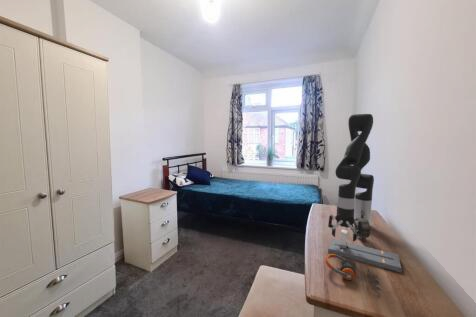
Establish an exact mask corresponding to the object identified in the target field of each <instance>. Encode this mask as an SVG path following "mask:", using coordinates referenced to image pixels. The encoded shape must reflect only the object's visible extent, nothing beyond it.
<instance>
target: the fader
mask: <svg viewBox="0 0 476 317" xmlns="http://www.w3.org/2000/svg"><path fill="white" fill-rule="evenodd" d="M347 242H348V230H347V229H341V231H340V244H339V247H342V248H347Z"/></svg>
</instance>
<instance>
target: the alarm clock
mask: <svg viewBox="0 0 476 317" xmlns="http://www.w3.org/2000/svg"><path fill="white" fill-rule="evenodd" d="M362 211H363V210H361V212H362ZM363 215H364V211H363ZM363 215H362V213H361V217H356V219H355V220H361V234H357V238H363V239H364V242H365V243H367V239H369V238H370V235H371V224H370V225H369V222H368V220H367V218H366V217H363ZM353 226H354V228H355V229H356V230H358V225H357V224H356V223H354V224H353Z"/></svg>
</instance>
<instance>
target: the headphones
mask: <svg viewBox="0 0 476 317" xmlns="http://www.w3.org/2000/svg"><path fill="white" fill-rule="evenodd" d="M331 258H332V259H333V258H334V259H335V258H337V259H339V260H341V267H340V268H339V269H337V268H335V267H334V265H332V263H331V262H330V260H329V259H331ZM325 264H326V265H327V267H328V268H329V269H330V270H332V271H334V272H335V273H337V274H339V275H340V276H341V277H343V279H345V280H347V281H351V280H354V279H355V280H356V279H361V280H362V281H364V283H365V284H364V285H365V289H366V291H367V292H368V293H370V294H371V295H372V296H374V297H377V295H376V294H373V293H372V292H370V290H368V288H367V280H366V278H365V276H364V275H363V274H361V276H362V277H356V270H357V271H359V269H358V268H357V266H356V263H355V262H354V260H353V259H350V258H347V257H343V256H340V255H336V254H332V253H328V254H327V255H326V257H325ZM367 272H369V273H368V274H366V277H369V278H370V279H369V280H368V283H369V284H370V285H371V286H372V287H371V288H372V290H374V291H375V292H376V293H377V294H378V296H379V297H380V296H381V294H380V293H379V291H381V290H380V289H381V288H380V287H378V286H377V285H381V283H380V281H379V280H377V278H378V277H377V275H376V274H375V273H373V272H372V271H370V269H369V267H368V268H367ZM376 289H377V290H379V291H377V290H376Z"/></svg>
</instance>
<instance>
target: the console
mask: <svg viewBox="0 0 476 317" xmlns="http://www.w3.org/2000/svg"><path fill="white" fill-rule="evenodd" d="M339 244H340V240H339V239H335V238H331V240H330V242H329V245H328V248H327V253H328V254H336V255H338V256H340V257H342V258H347V259H351V260H353V261H358V262H362V263H364V264H368V265H373V266H376V267H380V268H384V269H388V270H391V271H395V272H398V273H402V265H401V261H400V258H399V254H398V253H393V252H389V251H385V250H381V249H377V248H371V247H367V246H364V245H360V244H355V243H352V242H348V241H347V248H342V247H339Z"/></svg>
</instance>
